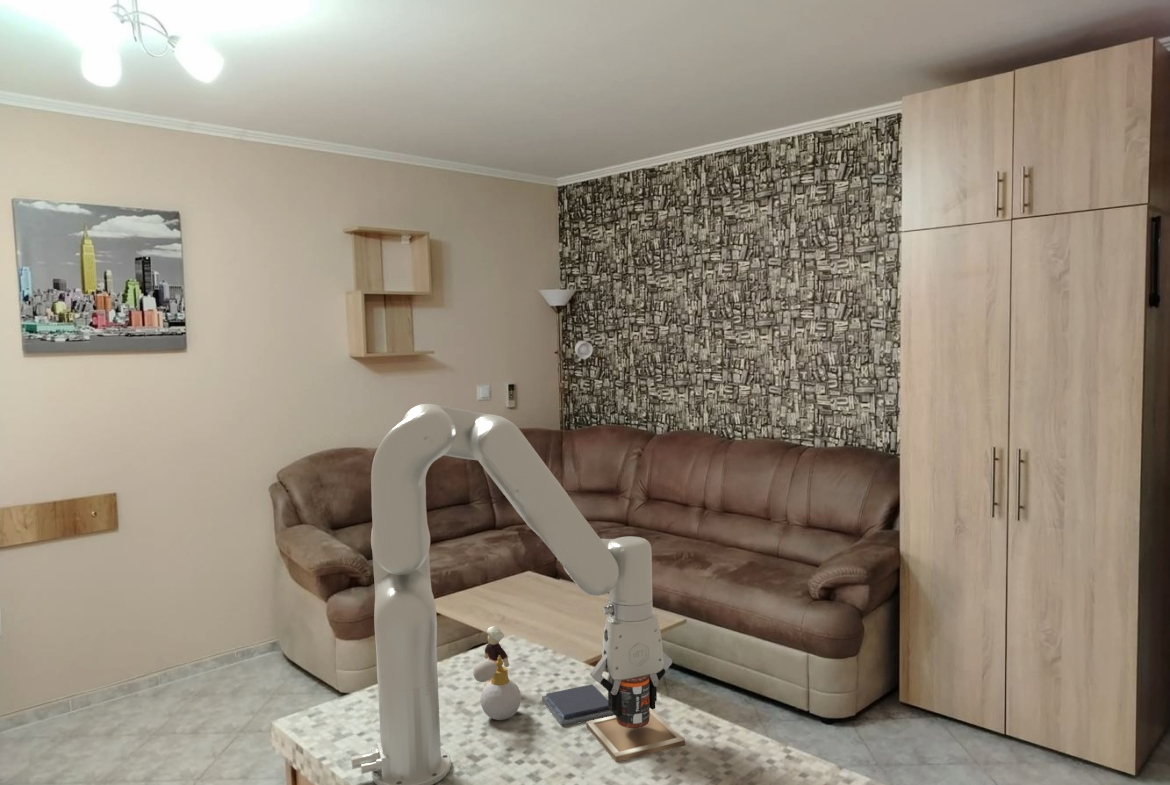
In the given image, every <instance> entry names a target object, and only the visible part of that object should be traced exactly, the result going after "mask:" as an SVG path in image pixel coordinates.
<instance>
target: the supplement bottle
mask: <svg viewBox="0 0 1170 785" xmlns="http://www.w3.org/2000/svg"><path fill="white" fill-rule="evenodd" d="M618 693H619V694H620V695H621V715H620V717H616V720H617V722H618V724H620V725H621V726H623V727H627V728H640V727H643V726H645V725H647V724H648V722H649V717H650V703H649V675H647V676H641V677H636V678H632V679H627V680H621V683H620V686H619V689H618Z"/></svg>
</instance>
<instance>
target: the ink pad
mask: <svg viewBox="0 0 1170 785" xmlns="http://www.w3.org/2000/svg"><path fill="white" fill-rule="evenodd" d="M541 701H542V703H543V705H544V704H545V705H546V706H545V705H544V706H545V707H546V708H547V710H548V709H549V710H548V711H549V712H550V713H552V717H554V719H555V718H556V719H555V720H556V721H557V722H558V724H559V725H560V726H561V727H566V726H565V725H567V726H570V725H574V724H575V723H576V724H579V722H580V723H585V722H586V721H587V720H589V721H591V720H593V719H594V720H595V719H597V718H598V719H600V718H602V717H603V718H604V717H606V716H607V717H609V716H610V715H612V716H613V715H614V713H613V712H612V711H611V710H610V709H609V707H608V697H607V696H605V695H604V694H603V693H602V692H601V691H600V690H599V689H598V688H597V687H596V686H595V685H594V684H591V683H590V684H586V685H583V686H578V687H572V688H567V689H562V690H558V691H553V692H547V693H546V694H545V695H542V696H541ZM584 721H585V722H584Z"/></svg>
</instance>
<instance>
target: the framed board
mask: <svg viewBox="0 0 1170 785" xmlns="http://www.w3.org/2000/svg"><path fill="white" fill-rule="evenodd" d="M585 724H586V725H585V726H586V728H587V729H588V731H589V730H590V731H589V733H591V734H592V736H593V737H594V738H595V737H596V738H595V739H596V740H597V741H598V742H599V744H600V745H601V747H603V749H605V751H606V752H607V753H608V754H609V755H610V757H611V758H612V759H613V760H614V762H616V763H617V762H620V761H621V762H622V761H625V760H629V759H632V758H633V759H634V758H637V757H641V756H645V755H650V754H654V753H658V752H662V751H666V750H670V749H673V748H678V747H682V746H686V739H685V737H683V736H682V735H681V734H680V733H679V732H678V731H677V730H676V729H675V728H674V727H673V726H671V725H670V724H669V723H668V722H667V721H666V720H665V719H664V718H663V717H662V716H660V715H659V713H658V712H656V711H655V709H651V708H650V717H649V722H648V724H647V725H645V726H643V727H640V728H627V727H623V726H621V725H620V724H618V722H617V720H616V715H612V716H607V717H603V718H598V719H594V720H589V721H585Z"/></svg>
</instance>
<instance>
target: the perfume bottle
mask: <svg viewBox="0 0 1170 785" xmlns="http://www.w3.org/2000/svg"><path fill="white" fill-rule="evenodd" d="M501 659H502V658H501V657H500V655H499V656H498V658H497V660H498V661H497V662H496V663H495V662H493V661H489V660H483V661H480V662H478V663H477V664H476V665H475V666H474V668H473V672H472V673H473V677H474V679H475V680H476V681H478V682H479V683H486V682H488V680H490V679H491V678H492V680H491V681H490V682H489V683H487V684H486V686H485V687H483V688H482V691H481V694H480V706H481V708H482V710H483V712H484V713H485V715H486V716H487V717H489V718H490V719H493V720H496V721H503V720H507V719H510V718H511V717H513V716H514V715H516V713H517V712H518V710H519V709H520V706H521V703H522V702H521V701H522V696H521V694H522V693H521V690H520V689H519V688H520V687H519V686H518V685H517V684H516V683H515V682H514V681H513V680H512V679H510V678H509V676H508V675H509V674H508V673H509V672H508V667H505V666H503V665H504V662H503V660H501ZM497 666H498V667H497Z"/></svg>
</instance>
